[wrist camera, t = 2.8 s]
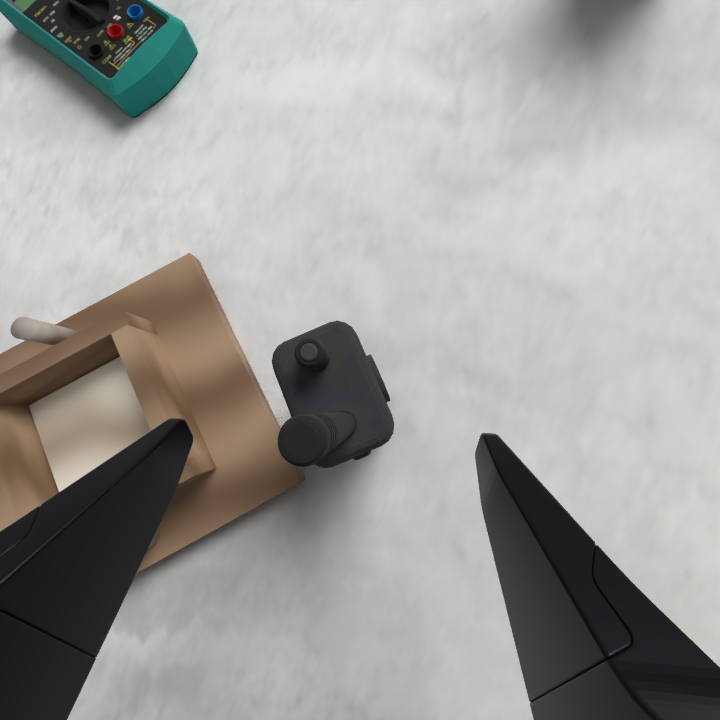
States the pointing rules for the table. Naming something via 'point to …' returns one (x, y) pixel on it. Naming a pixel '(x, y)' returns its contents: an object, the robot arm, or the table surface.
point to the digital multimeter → (111, 44)
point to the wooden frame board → (140, 404)
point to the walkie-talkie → (330, 398)
